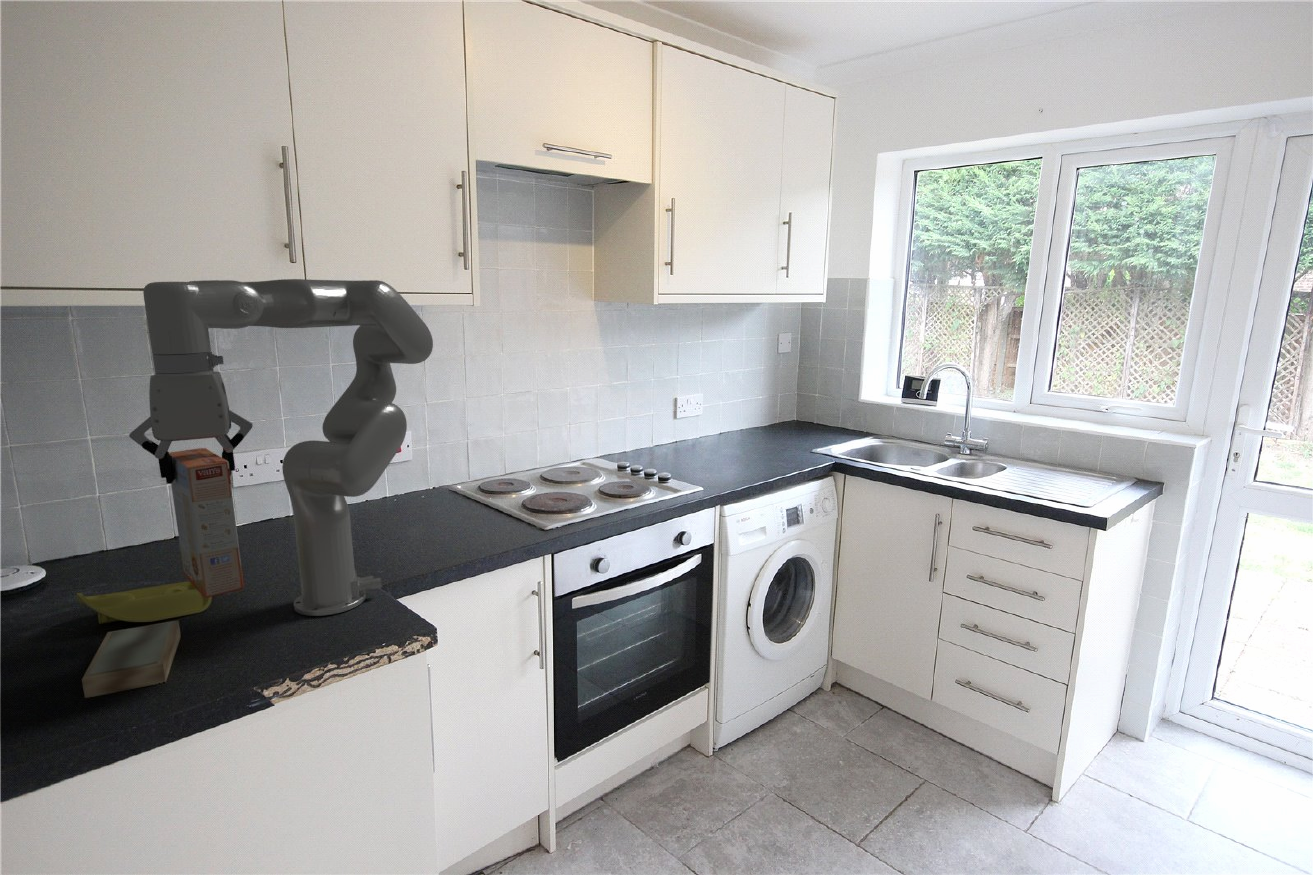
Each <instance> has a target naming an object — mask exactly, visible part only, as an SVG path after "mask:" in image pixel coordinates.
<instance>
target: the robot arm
mask: <svg viewBox="0 0 1313 875" xmlns="http://www.w3.org/2000/svg"><path fill="white" fill-rule="evenodd" d="M142 293H143V300H144V301H143V302H144V307H145V313H146V321H147V328H148V335H149V336H148V337H149V341H150V342H149V343H150V348H151V354H152V363H153V367H154V374H153V375H152V374H151V375H150V378H149V379H150V380H149V391H148V392H149V394H148V396H149V398H148V399H149V413H150V414H149V415H150V416H149V417H148V418H147V419H145V420H144V421H142V423H141V424H139V425H138V426H137V427H136V428H134V430H132V431H130V432H129V435H128V436H129V438H130V439H131V440H133V441H134V442H135V443H137V445H139V446H140V447H142V449H144V450H145V451H146V452H148V453H149V454H151V455H153V456H154V457H155V459H157V460H158V465H159V473H160V478H162V479H164V478H165V483H166V484H167V485H171V483H172V482H173V481H174V479H175V477H174V469H173V462H172V456H170V454H169V453H170V452H169V448H170V447H171V445H172V442H179V441H191V440H192V441H193V440H201V439H215V440H216V441H217V442H218V443H219V445H220V447H222V452H221V458H223V459H225V460H227V461H228V463H229V470H230V477H231V476H232V472H233V471H236V464H235V462H236V461H235V456H234V450H235V449H236V448H237V446H238V445H240V443H242V442H243V440H244V439H245V438H246V436H247V435H248V434H249V432H250V431H251V430H252V428H253V423H252V422H250V421H249V420H247V419H246V418H244V417H243V416H241V415H239V414H237V413H235V412H234V411H232V410H230V406H229V400H228V395H227V390H226V386H225V383H224V381H223V377H222V374H221V372H220V371H216V370H215V369H214V368H215V367H216V366H219V365H224V364H225V363H224V357H223V355H218V354H217V355H216V354H214V353H213V351H212V349H211V348H212V347H211V340H210V332H209V329H226V330H227V329H230V330H231V329H232V330H235V329H244V328H247V327H263V328H265V327H266V328H277V329H307V328H325V327H326V328H327V327H330V328H331V327H352V326H354V327H355V326H356V327H357V326H358V327H357V328H356V330H355V332H354V334H353V338H352V346H353V347H352V348H353V352H354V358H355V365H356V372H355V376H354V378H353V379H352V380H351V383H350V384H349V386H348V387H347V388H346V390H345V391H344V392H343V393H342V394H341V396H340V397H339V398H338V400H337V401H336V402H335V403H334V404H333V405H332V407H331V408H330V410H329V411H328V413H327V414H326V416H325V417H324V419H323V420H324V421H323V422H322V427H321V428H322V433H323V436H324V437H325V439H327V441H325V440H304V441H300V442H298V443H296V444H294V445H292V446H291V447H290V448H289V449H288V450H287V451H286V454H285V455H284V458H283V461H282V466H281V467H282V468H281V469H282V475H283V479H284V483H285V486H286V489H287V493H288V495H289V499H290V502H291V507H292V513H293V514H292V516H293V522H294V532H295V533H294V535H295V540H296V541H295V543H296V552H297V562H298V569H299V570H298V571H299V579H300V588H301V589H300V590H301V594H300V595H299V596H297V597H296V598H295V599H294V601H293V609H294V611H295V612H296V613H298V614H300V615H303V616H309V617H324V616H330V615H331V616H332V615H336V614H340V613H343V612H347V611H349V610H352V609H354V608H356V607H358V606H359V605H361V604H362V603H363V602H364V601H365V600H366V590H370V589H371V590H375V589H379V588H383V585H382V578H381V577H376V578H374V575H369V576H364V577H361V576H358V574H357V571H356V569H355V560H354V558H355V557H354V550H353V549H354V548H353V538H352V536H353V535H352V528H351V527H352V526H351V514H350V509H349V506H348V502H347V500H346V497H347V498H348V497H350V498H353V497H354V498H355V497H356V498H357V497H359V496H362V495H365V494H366V493H368V492H369V491H370V490H372V488H373V487H374V486H375V485H376V484H377V482H378V481H379V479H380V478H381V476H382V475H383V473H384V472H385V470H387V468H388V466H389V465H390V464H391V462H392V460H393V459H394V458H395V456H396V455H397V453H398V452H399V450H400V448H401V446H402V445H403V443H404V441H405V438H406V434H407V429H408V428H407V427H408V426H407V425H408V423H407V422H408V421H407V417H406V414H405V413H404V411H403V409H401V407H399V405H397V404H395V403H393V401H394V400H395V398H396V395H397V385H396V381H395V377H394V374H393V369H392V366H391V364H400V365H401V364H404V365H405V364H406V365H417V364H421V363H423V362H424V361H426V360H427V359H428V358H430V357H431V356H430V355H431V354H432V351H433V348H434V341H433V340H434V339H433V334H432V333H431V331H430V328H429V327H428V326H427V324H426V322H424V320H423V319H422V317H420V316H419V314H418V313H417V312H416V311H415V310H414V309H413V307H412V306H411V305H410V303H408V301H407V300H406V299H405V298H404V297H403V296H402V294H400V293H399V292H398V291H397V290H396V289H395V288H394V287H392V286H391V285H390V284H388V283H387V282H385V281H382V280H377V279H375V280H373V279H372V280H371V279H370V280H363V279H362V280H348V279H347V280H345V279H344V280H342V279H341V280H339V279H337V280H336V279H335V280H333V279H331V280H330V279H306V278H305V279H303V278H292V279H291V278H289V279H288V278H287V279H282V278H281V279H271V280H261V281H260V280H259V281H239V280H233V279H232V280H229V279H227V280H226V279H223V280H222V279H220V280H219V279H216V280H212V279H210V280H205V279H204V280H203V279H202V280H191V281H153V282H149V283H147V284H145V286H144V288H143V292H142ZM232 423H233V424H235V425H237V426H238V427H239V429H238V430H237V432H236V433H235V434H234V436H232V438H230V437H229V435H228V434H229V432H230V430H231V428H232ZM149 429H151V433H152V436H153V438H154V439H155V440H157V441H160V442H159V444H157V443H156V442H154V441H153V440H152V439H149V438H148V437H147V436H146V435H145V433H146V432H148V431H149Z"/></svg>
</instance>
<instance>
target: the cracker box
mask: <svg viewBox="0 0 1313 875" xmlns="http://www.w3.org/2000/svg"><path fill="white" fill-rule="evenodd" d="M169 454H170V456H172V462H173V469H174V477H175V479H174V481H173V482H172V483H171V484H170V485H171V492H172V499H173V505H174V506H173V507H174V513H175V519H176V527H177V534H178V540H179V541H178V542H179V550H180V557H181V563H182V570H183V571H182V572H183V575H184V576H185V578H186V579H187V581H190V582H191V583H192V584H193V585H194V587H195V588H196V589H197V590H198V591H199V593H200V594H201V595H202V596H203V597H204V598H208V597H212V598H213V597H215V596H220V595H224V594H228V593H231V592H236V591H240V590H243V589H244V587H245V586H244V577H243V570H242V561H241V560H242V559H241V553H240V546H239V536H238V530H237V520H236V516H235V515H236V514H235V507H234V504H235V503H234V498H233V489H232V488H233V487H232V480H231V476H230V470H229V463H228V461H227V460H225V459H223V458H222V456H220V455H218V454H216V453H214V452H213V451H211V450H210V449H208V448H206V447H204V448H203V447H201V448H192V449H191V448H190V449H186V450H180V451H179V450H178V451H177V450H176V451H171V452H169Z"/></svg>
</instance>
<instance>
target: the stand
mask: <svg viewBox="0 0 1313 875" xmlns="http://www.w3.org/2000/svg"><path fill="white" fill-rule="evenodd" d="M181 635H182V634H181V629H180V621H179V619H178V620H171V621H166V622H161V623H154V624H149V625H148V624H147V625H142V626H136V627H130V628H126V629H125V628H124V629H119V630H112V631H107V633H106V635H105V637H104V638H103V640H102V642H101V643H100V646H99V647H98V649H97V651H96V653H95V654H94V656H93V659H92V660H91V662H90V664H89V666H88V668H87V669H86V671H85V672H84V675H83V677H82V678H81V682H82V689H83V693H84V699H88V698H93V697H97V696H98V697H99V696H103V695H110V694H113V693H118V692H123V691H128V690H132V689H133V690H134V689H138V688H142V687H149V686H154V685H160V684H164V683H163V682H165V683H167V680H168V676H169V674H170V671H171V667H172V664H173V661H174V659H175V655H176V652H177V649H178V646H179V643H180V640H181ZM159 683H160V684H159Z"/></svg>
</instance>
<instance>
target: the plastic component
mask: <svg viewBox="0 0 1313 875" xmlns="http://www.w3.org/2000/svg"><path fill="white" fill-rule="evenodd" d="M74 596H75V599H76V600H77V602H78V603H79V604H80V605H82V606H85V607H86V606H88V607H89V608H90V609H92V610H93V611H95V612H97V617H98V624H107V623H111V622H116V621H121V622H129V623H151V622H157V621H163V620H168V619H174V618H181V617H186V616H190V615H195V614H199V613H200V614H201V613H202V612H204V611H206V609H208V608H209V607H210V605H211V603H212V600H213V596H212V597H208V598H204V597H203V596H202V595H201V594H200V593H199V591H198V590H197V589H196V588H195V587H194V585H193V584H192V583H191V582H190V581H189V580H186V581H181V582H174V583H169V584H163V585H156V586H149V587H143V588H137V589H129V590H126V591H125V590H124V591H119V592H113V593H105V594H98V595H89V596H88V595H87V596H85V595H84V594H83V593H82V592H79V593H78V592H77V593H76V594H75V595H74Z"/></svg>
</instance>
